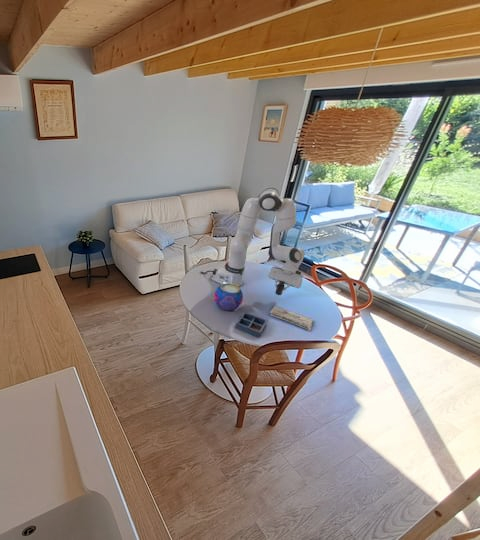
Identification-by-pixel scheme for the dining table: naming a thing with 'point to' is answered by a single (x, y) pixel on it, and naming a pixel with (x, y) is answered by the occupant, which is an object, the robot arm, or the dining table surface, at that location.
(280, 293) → the dark brown cylinder
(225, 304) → the ceramic pot
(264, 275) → the dining table surface
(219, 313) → the dining table surface
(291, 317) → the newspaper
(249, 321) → the grid
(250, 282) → the dining table surface
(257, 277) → the dining table surface
